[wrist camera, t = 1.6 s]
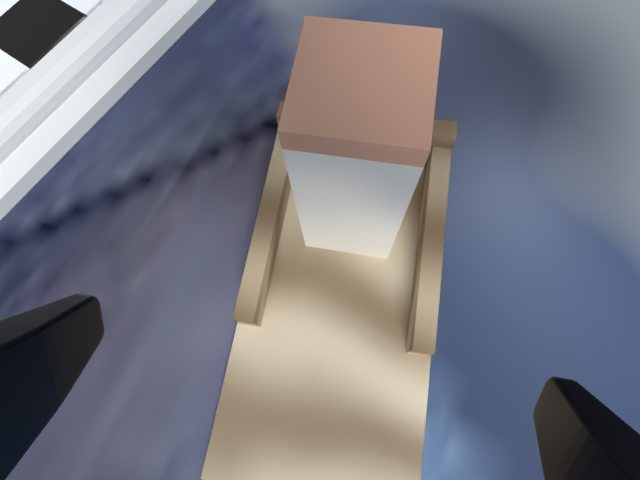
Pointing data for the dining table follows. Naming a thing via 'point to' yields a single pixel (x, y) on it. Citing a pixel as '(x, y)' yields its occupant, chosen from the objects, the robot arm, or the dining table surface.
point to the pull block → (358, 128)
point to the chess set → (72, 73)
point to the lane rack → (333, 343)
